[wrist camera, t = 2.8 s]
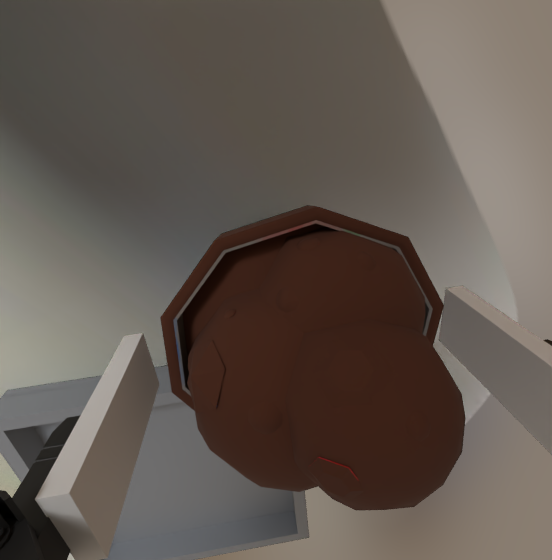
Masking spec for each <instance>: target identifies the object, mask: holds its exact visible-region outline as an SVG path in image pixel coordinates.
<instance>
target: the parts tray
mask: <svg viewBox="0 0 552 560" xmlns="http://www.w3.org/2000/svg"><path fill="white" fill-rule="evenodd" d="M154 368H155V371H156V374H157V377H158V381H159V388H158V391H157V394H156V398H155V401H154V404H153V408H152V411H151V414H150V418H149V421H148V424H147V428H146V431H145V434H144V438H143V441H142V444H141V448H140V451H139V454H138V458H137V461H136V464H135V468H134V471H133V474H132V478H131V481H130V484H129V488H128V491H127V494H126V498H125V501H124V504H123V508H122V511H121V514H120V518H119V521H118V524H117V528H116V531H115V534H114V538H113V541H112V544H111V548H110V551H109V554H108V558H106V559H101V560H195V559H200V558H205V557H211V556H216V555H220V554H226V553H232V552H237V551H242V550H247V549H252V548H258V547H263V546H267V545H273V544H278V543H283V542H289V541H293V540H299V539H304V538H309V530H308V521H307V510H306V500H305V490H304V491H301V492H295V491H288V490H280V489H273V488H265V487H260V486H258V485H257V484H255V483H254V482H252V481H250V480H249V479H247V478H246V477H244V476H243V475H242V474H240V473H239V472H238V471H237V470H235V469H234V468H233V467H231V466H230V465H229V464H227V463H226V462H225V461H224V460H222V459H221V458H220V457H218V456H217V455H216V454H214V453H213V452H212V451H211V450H210V449H209V448H208V446H207V444H206V442H205V441H204V439H203V437H202V435H201V434H200V432H199V430H198V427H197V421H196V415H195V411H194V410H193V409H191V408H190V407H189V406H188V405H187V404H185V403H184V402H183V401H182V400H180V399H179V398H178V397H177V396H176V395H174V394H173V393H172V390H171V384H170V377H169V370H168V365H167V366H161V367H154ZM101 377H102V376H96V377H90V378H83V379H77V380H70V381H64V382H58V383H51V384H45V385H38V386H32V387H25V388H19V389H12V390H7V391H6V392H5V393H4V395H3V396H2V397H1V398H0V453H1V454H2V456H3V457H4V458H5V460H6V461H7V463H8V464H9V465H10V467H11V468H12V470H13V471H14V473H15V474H16V475H17V477H18V478H19V480H20V481H21V482H22V481H23V480H24V478H25V476H26V475H27V473H28V471H29V470H30V468H31V466H32V465H33V463H35V462H36V458H37V457H38V455H39V453H40V452H41V450H43V447H44V445H45V443H46V442H47V440H48V439H49V437H50V435H51V434H52V432H53V431H54V430H55V429H56V428H57V427H58V426H59V425H60V424H61V423H62V422H63V421H64V420H65V419H66V418H68V417H74V416H80V415H81V414H82V412H83V410H84V408H85V406H86V405H87V403H88V401H89V399H90V397H91V395H92V394H93V392H94V390H95V388H96V386H97V384H98V383H99V381H100V379H101Z"/></svg>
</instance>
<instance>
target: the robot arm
mask: <svg viewBox="0 0 552 560" xmlns="http://www.w3.org/2000/svg"><path fill="white" fill-rule="evenodd" d="M439 341H440V342H441V343H442V344H443V345H444V346H445V347H446V348H447V349H448V350H449V351H450V352H451V353H452V354H453V355H454V356H455V357H456V358H457V359H458V360H459V361H460V362H461V363H462V364H463V365H464V366H465V367H466V368H467V369H468V370H469V371H470V372H471V373H472V374H473V375H474V376H475V377H476V378H477V379H478V380H479V381H480V382H481V383H482V384H483V385H484V386H485V387H486V388H487V389H488V390H489V391H490V392H491V393H492V394H493V395H494V396H495V398H496V399H498V401H499V402H500V403H501V404H502V405H503V406H504V407H505V408H506V409H507V410H508V411H509V412H510V413H511V414H512V415H513V416H514V417H515V418H516V419H517V420H518V421H519V422H520V423H521V424H522V425H523V426H524V427H525V428H526V429H527V430H528V431H529V432H530V433H531V434H532V435H533V436H534V437H535V438H536V439H537V440H538V441H539V442H540V443H541V444H542V445H543V446H544V447H545V448H546V449H547V450H548V451H549V452H550V453H551V454H552V341H550V340H542V339H541V338H539V337H538V336H536V335H535V334H533V333H532V332H530V331H529V330H527V329H526V328H524V327H523V326H521V325H520V324H518V323H517V322H515V321H514V320H512V319H511V318H509V317H508V316H507V315H505V314H504V313H502V312H501V311H499V310H498V309H496V308H495V307H493V306H492V305H490V304H489V303H487V302H486V301H484V300H483V299H481V298H480V297H478V296H477V295H475V294H474V293H472V292H471V291H469V290H468V289H467V288H465V287H464V286H457V287H450V288H446V290H445V298H444V307H443V313H442V321H441V328H440V336H439ZM158 388H159V381H158V377H157V374H156V371H155V368H154V365H153V362H152V359H151V356H150V353H149V350H148V347H147V344H146V341H145V338H144V335H143V333H139V334H132V335H125V336H124V337H123V339H122V340H121V342H120V344H119V346H118V348H117V350H116V351H115V353H114V355H113V357H112V359H111V361H110V362H109V364H108V366H107V368H106V370H105V372H104V373H103V375H102V377H101V379H100V381H99V383H98V384H97V386H96V388H95V390H94V392H93V394H92V395H91V397H90V399H89V401H88V403H87V405H86V406H85V408H84V410H83V412H82V414H81V415H80V416H74V417H68V418H66V419H65V420H64V421H63V422H62V423H61V424H60V425H59V426H58V427H57V428H56V429H55V430H54V431H53V432H52V434H51V435H50V437H49V439H48V440H47V442H46V443H45V445H44V447H43V450H41V452H40V453H39V455H38V457H37V458H36V462H35V463H33V465H32V466H31V468H30V470H29V471H28V473H27V475H26V476H25V478H24V480H23V481H22V483H21V484H20V486H19V488H18V489H17V491H16V493H15V494H14V496H13V498H11V497H10V495H9V494H8V493H7V492H6V491H1V490H0V560H67V558H68V555H69V553H71V554H72V556H73V557H74V559H75V560H101V559H106V558H108V554H109V551H110V548H111V544H112V541H113V538H114V534H115V531H116V528H117V524H118V521H119V518H120V514H121V511H122V508H123V504H124V501H125V498H126V494H127V491H128V488H129V484H130V481H131V478H132V474H133V471H134V468H135V464H136V461H137V458H138V454H139V451H140V448H141V444H142V441H143V438H144V434H145V431H146V428H147V424H148V421H149V418H150V414H151V411H152V408H153V404H154V401H155V398H156V394H157V391H158Z"/></svg>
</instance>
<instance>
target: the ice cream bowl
mask: <svg viewBox="0 0 552 560" xmlns="http://www.w3.org/2000/svg"><path fill="white" fill-rule="evenodd" d="M443 307H444V305H443V303H442V301H441V299H440V297H439V295H438V293H437V291H436V289H435V288H434V286H433V284H432V282H431V280H430V278H429V276H428V274H427V272H426V270H425V268H424V266H423V264H422V263H421V261H420V259H419V257H418V255H417V253H416V251H415V249H414V247H413V245H412V243H411V241H410V240H409V238H408V237H407V236H404V235H401V234H398V233H395V232H392V231H389V230H386V229H383V228H380V227H377V226H374V225H371V224H368V223H365V222H362V221H359V220H356V219H353V218H350V217H347V216H344V215H341V214H338V213H335V212H332V211H329V210H326V209H323V208H320V207H317V206H308V205H307V206H304V207H301V208H298V209H295V210H292V211H289V212H286V213H283V214H280V215H277V216H274V217H271V218H268V219H265V220H262V221H259V222H256V223H252V224H249V225H246V226H243V227H240V228H237V229H234V230H231V231H228V232H225V233H222V234H221V235H220V236H219V237H218V238H216V239H215V240H214V242H213V243H212V245H211V246H210V248H209V249H208V250H207V252H206V253H205V255H204V256H203V258H202V259H201V260H200V262H199V263H198V265H197V266H196V268H195V269H194V270H193V272H192V273H191V275H190V276H189V278H188V279H187V280H186V282H185V283H184V285H183V286H182V288H181V289H180V290H179V292H178V293H177V295H176V296H175V298H174V299H173V300H172V302H171V303H170V305H169V306H168V308H167V309H166V310H165V312H164V313H163V315H162V316H161V324H162V331H163V337H164V344H165V350H166V357H167V364H168V370H169V377H170V384H171V390H172V393H173V394H174V395H176V396H177V397H178V398H179V399H180V400H182V401H183V402H184V403H185V404H187V405H188V406H189V407H190V408H191V409H193V410H194V411H195V415H196V421H197V427H198V430H199V432H200V434H201V435H202V437H203V439H204V441H205V442H206V444H207V446H208V448H209V449H210V450H211V451H212V452H213V453H214V454H216V455H217V456H218V457H220V458H221V459H222V460H224V461H225V462H226V463H227V464H229V465H230V466H231V467H233V468H234V469H235V470H237V471H238V472H239V473H240V474H242V475H243V476H244V477H246V478H247V479H249V480H250V481H252V482H254V483H255V484H257V485H258V486H260V487H265V488H273V489H280V490H288V491H295V492H301V491H304V490H308V489H311V488H314V487H317V486H319V487H320V488H321V489H322V490H323V491H324V492H325V493H326V494H328V495H329V496H330V497H331V498H332V499H334V500H336V501H338V502H340V503H342V504H344V505H346V506H348V507H350V508H352V509H354V510H387V509H397V508H406V507H414V506H416V505H417V504H418V503H420V502H421V501H422V500H424V499H425V498H426V497H428V496H429V495H430V494H432V493H433V492H434V491H436V490H437V489H438V488H439V487H441V486H442V485H443V484H444V482H445V480H446V479H447V477H448V475H449V473H450V472H451V470H452V468H453V467H454V465H455V463H456V461H457V460H458V458H459V456H460V455H461V453H462V446H463V436H464V426H465V413H464V406H463V400H462V394H461V392H460V391H459V389H458V387H457V385H456V384H455V382H454V380H453V379H452V377H451V375H450V373H449V372H448V370H447V368H446V367H445V365H444V363H443V361H442V360H441V358H440V357H439V355H438V354H437V352H436V351H435V349H434V348H433V343H434V339H435V336H436V332H437V329H438V325H439V321H440V318H441V314H442V310H443Z"/></svg>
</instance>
